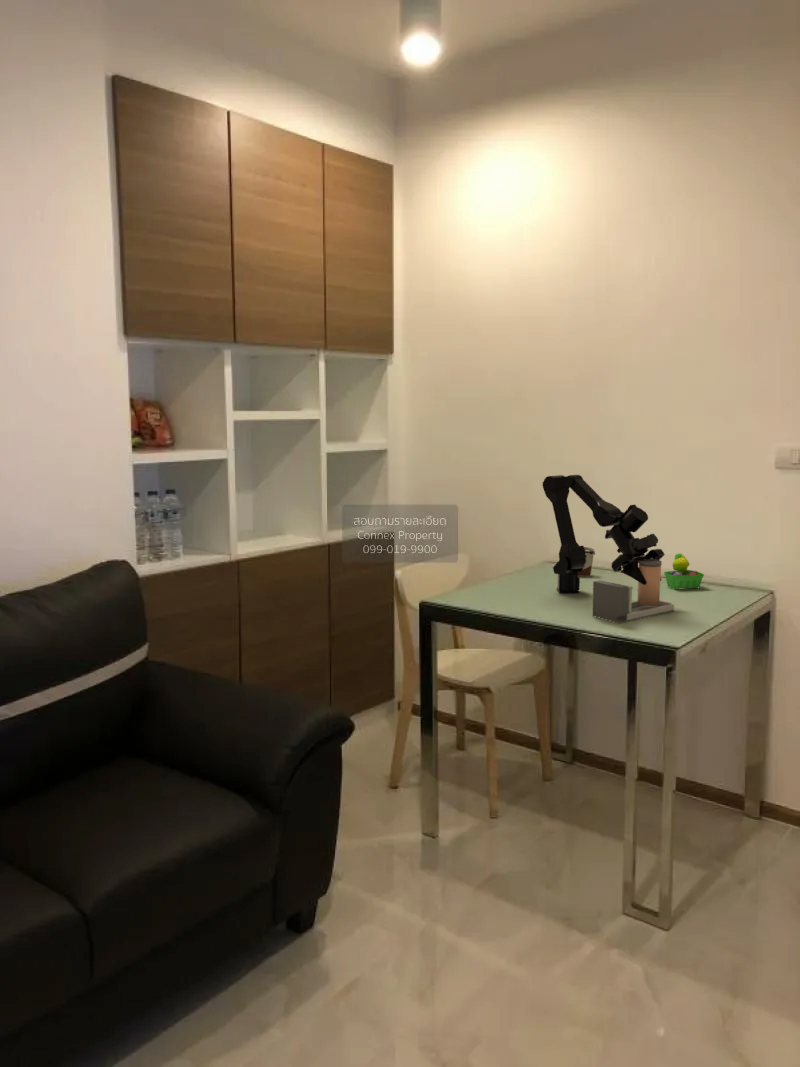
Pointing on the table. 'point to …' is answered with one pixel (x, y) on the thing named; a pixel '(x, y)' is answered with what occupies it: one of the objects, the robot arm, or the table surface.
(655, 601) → the jar
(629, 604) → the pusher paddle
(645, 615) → the lane
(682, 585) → the fruit basket
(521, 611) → the table surface
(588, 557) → the food container
